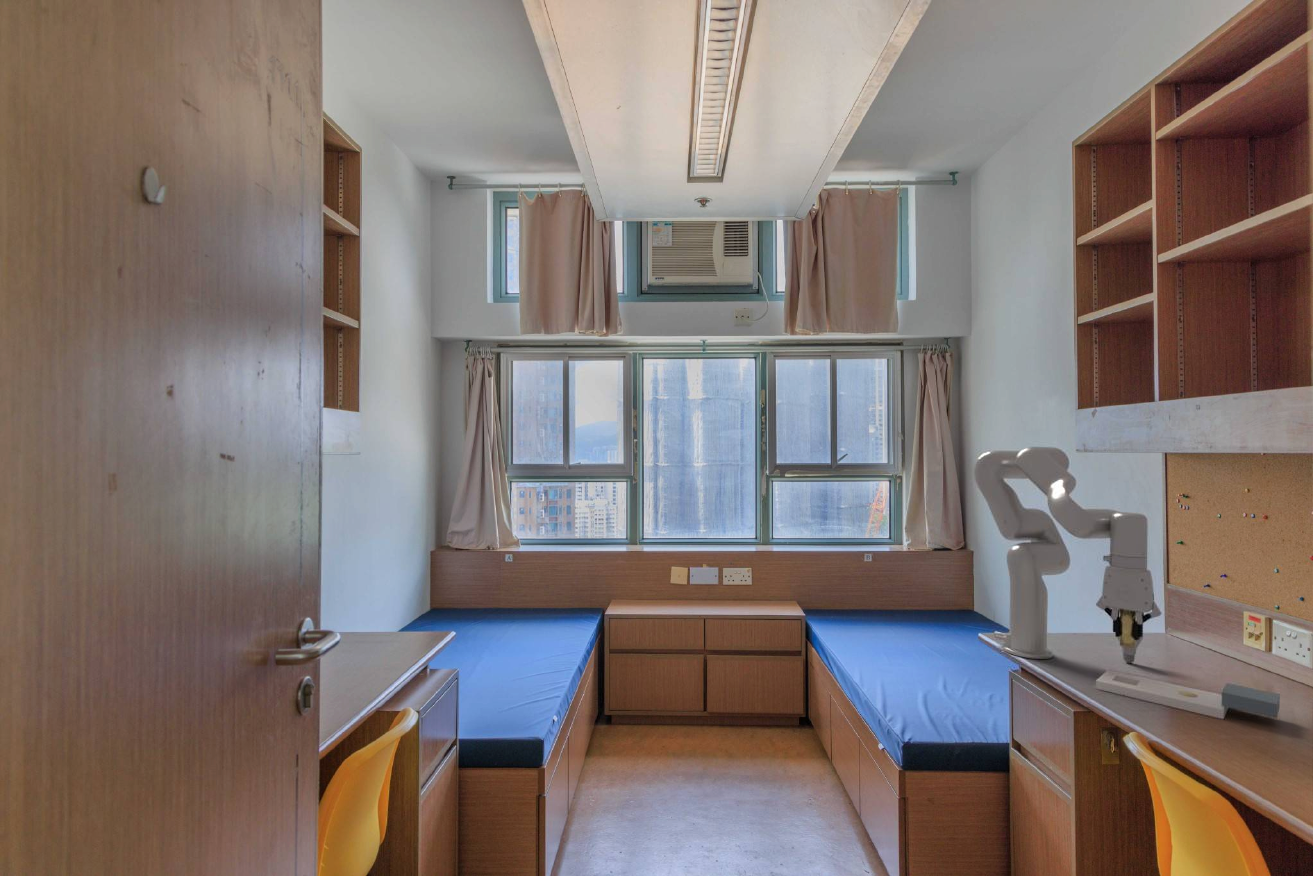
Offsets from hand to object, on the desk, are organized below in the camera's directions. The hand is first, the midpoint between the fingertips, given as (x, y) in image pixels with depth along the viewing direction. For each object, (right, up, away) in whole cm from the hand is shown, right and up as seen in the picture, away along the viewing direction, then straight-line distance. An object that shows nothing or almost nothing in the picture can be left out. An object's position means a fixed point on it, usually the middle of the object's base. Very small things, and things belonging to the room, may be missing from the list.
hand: (1127, 636), depth 165 cm
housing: (+16, -11, -16) cm, 25 cm away
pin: (0, -2, 0) cm, 2 cm away
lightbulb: (+15, -14, +20) cm, 29 cm away
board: (+4, -13, -5) cm, 14 cm away
